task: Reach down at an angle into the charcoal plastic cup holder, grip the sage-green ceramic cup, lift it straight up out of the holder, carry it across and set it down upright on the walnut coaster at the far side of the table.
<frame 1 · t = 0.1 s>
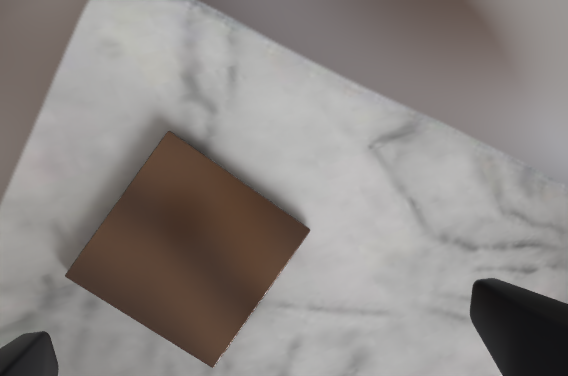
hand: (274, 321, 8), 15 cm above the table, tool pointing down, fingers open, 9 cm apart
coaster: (192, 250, 23), on the table
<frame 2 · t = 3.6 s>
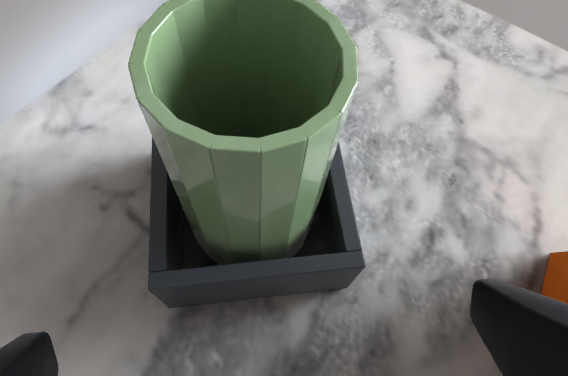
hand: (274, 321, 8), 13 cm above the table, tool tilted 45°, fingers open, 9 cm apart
cup holder: (252, 215, 24), on the table
green cup: (250, 161, 18), in the cup holder
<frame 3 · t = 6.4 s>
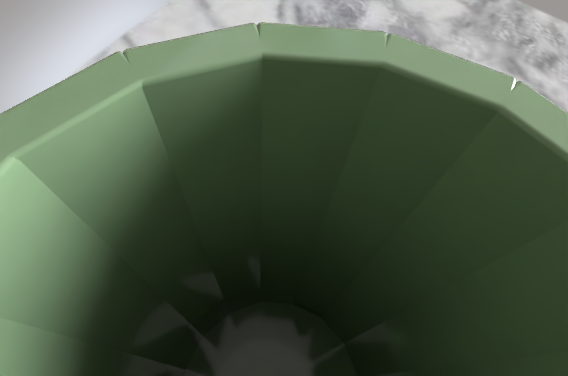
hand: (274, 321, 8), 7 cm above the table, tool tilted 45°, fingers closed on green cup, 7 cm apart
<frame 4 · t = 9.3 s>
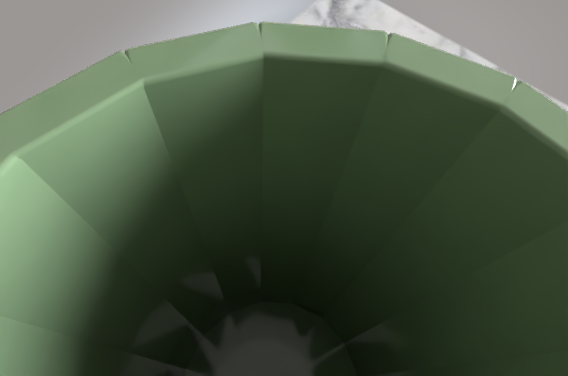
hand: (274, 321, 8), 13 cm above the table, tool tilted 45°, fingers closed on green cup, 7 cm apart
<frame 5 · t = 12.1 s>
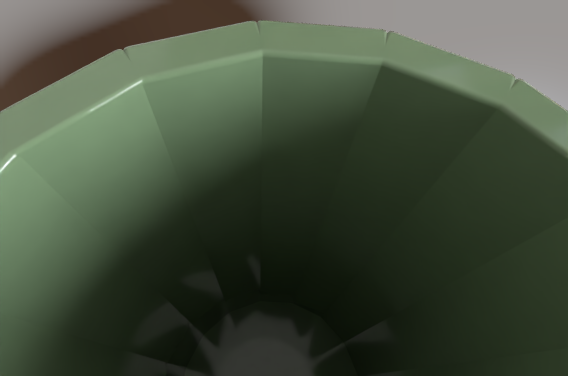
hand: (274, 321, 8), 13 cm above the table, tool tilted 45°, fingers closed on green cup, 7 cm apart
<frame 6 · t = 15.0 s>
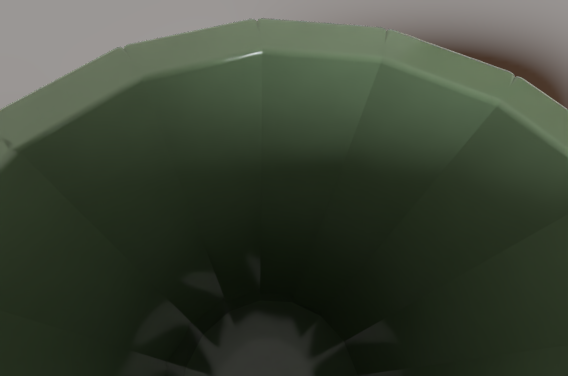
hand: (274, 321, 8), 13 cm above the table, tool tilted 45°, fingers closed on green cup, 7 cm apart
when the fingers open (8 cm above the table, at t = 17.6 s): green cup stays where it is, resting on coaster.
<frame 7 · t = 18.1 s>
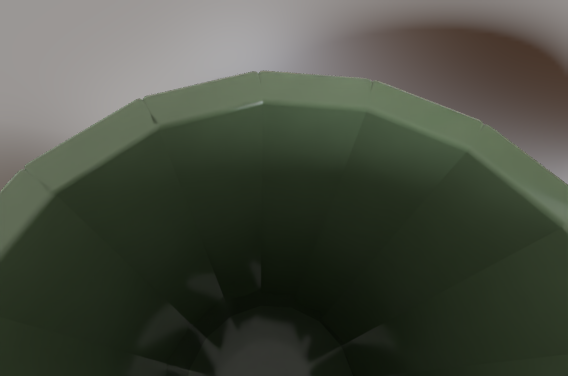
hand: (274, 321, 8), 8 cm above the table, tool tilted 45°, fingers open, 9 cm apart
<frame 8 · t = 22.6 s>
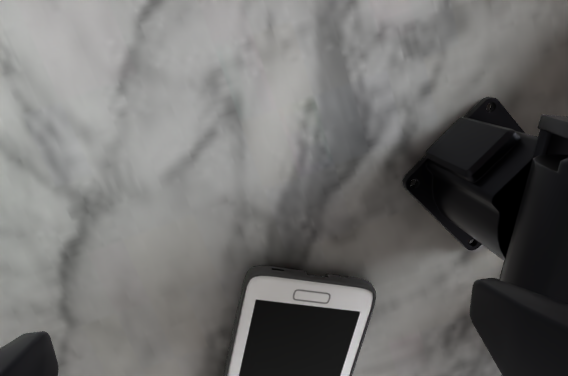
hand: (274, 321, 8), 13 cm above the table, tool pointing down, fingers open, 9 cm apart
cell phone: (285, 370, 25), on the table
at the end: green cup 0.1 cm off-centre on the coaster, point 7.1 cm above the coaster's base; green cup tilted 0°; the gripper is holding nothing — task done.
